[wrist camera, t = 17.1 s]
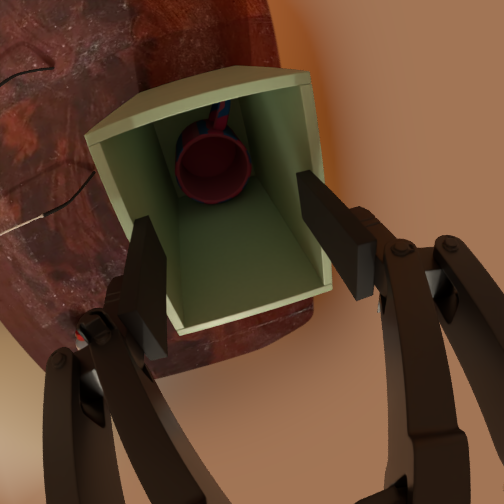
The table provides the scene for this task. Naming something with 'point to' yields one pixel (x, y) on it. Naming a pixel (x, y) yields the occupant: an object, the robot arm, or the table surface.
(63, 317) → the table surface
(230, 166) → the mug
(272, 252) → the bin
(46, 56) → the table surface
